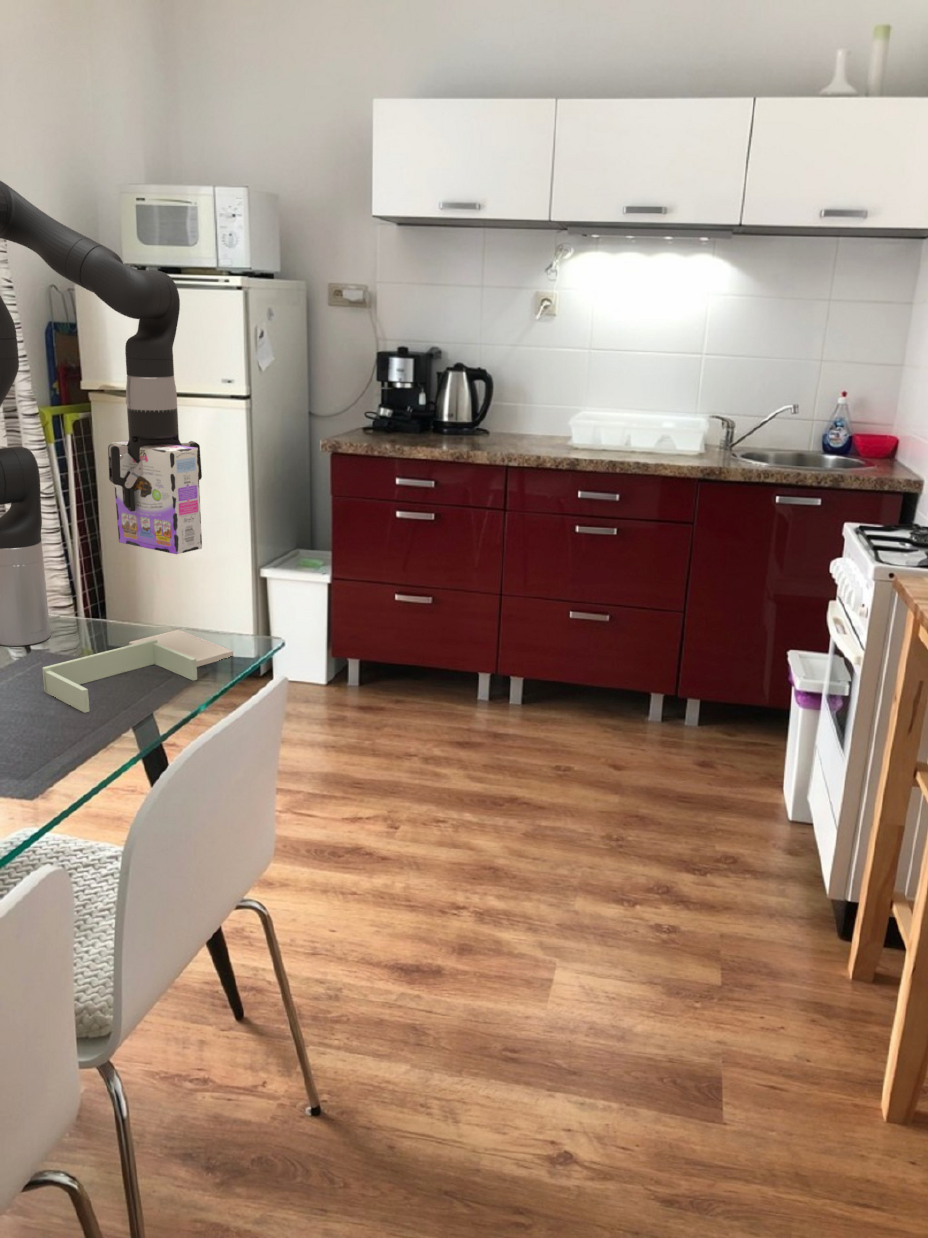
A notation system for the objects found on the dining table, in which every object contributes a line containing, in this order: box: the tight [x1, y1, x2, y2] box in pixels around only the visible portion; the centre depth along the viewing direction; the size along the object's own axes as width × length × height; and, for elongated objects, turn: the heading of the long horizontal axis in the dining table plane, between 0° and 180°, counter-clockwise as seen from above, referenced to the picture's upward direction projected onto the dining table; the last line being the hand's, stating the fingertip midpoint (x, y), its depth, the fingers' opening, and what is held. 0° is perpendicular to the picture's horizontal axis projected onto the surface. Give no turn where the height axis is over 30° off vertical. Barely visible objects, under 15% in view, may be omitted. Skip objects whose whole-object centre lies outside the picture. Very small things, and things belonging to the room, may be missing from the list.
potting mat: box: [128, 629, 234, 668], centre depth 179 cm, size 16×10×1 cm, turn 49°
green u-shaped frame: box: [42, 639, 198, 714], centre depth 163 cm, size 12×20×4 cm, turn 139°
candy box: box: [110, 440, 203, 555], centre depth 166 cm, size 14×6×16 cm, turn 58°
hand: (157, 508), depth 167 cm, fingers closed on candy box, 8 cm apart
